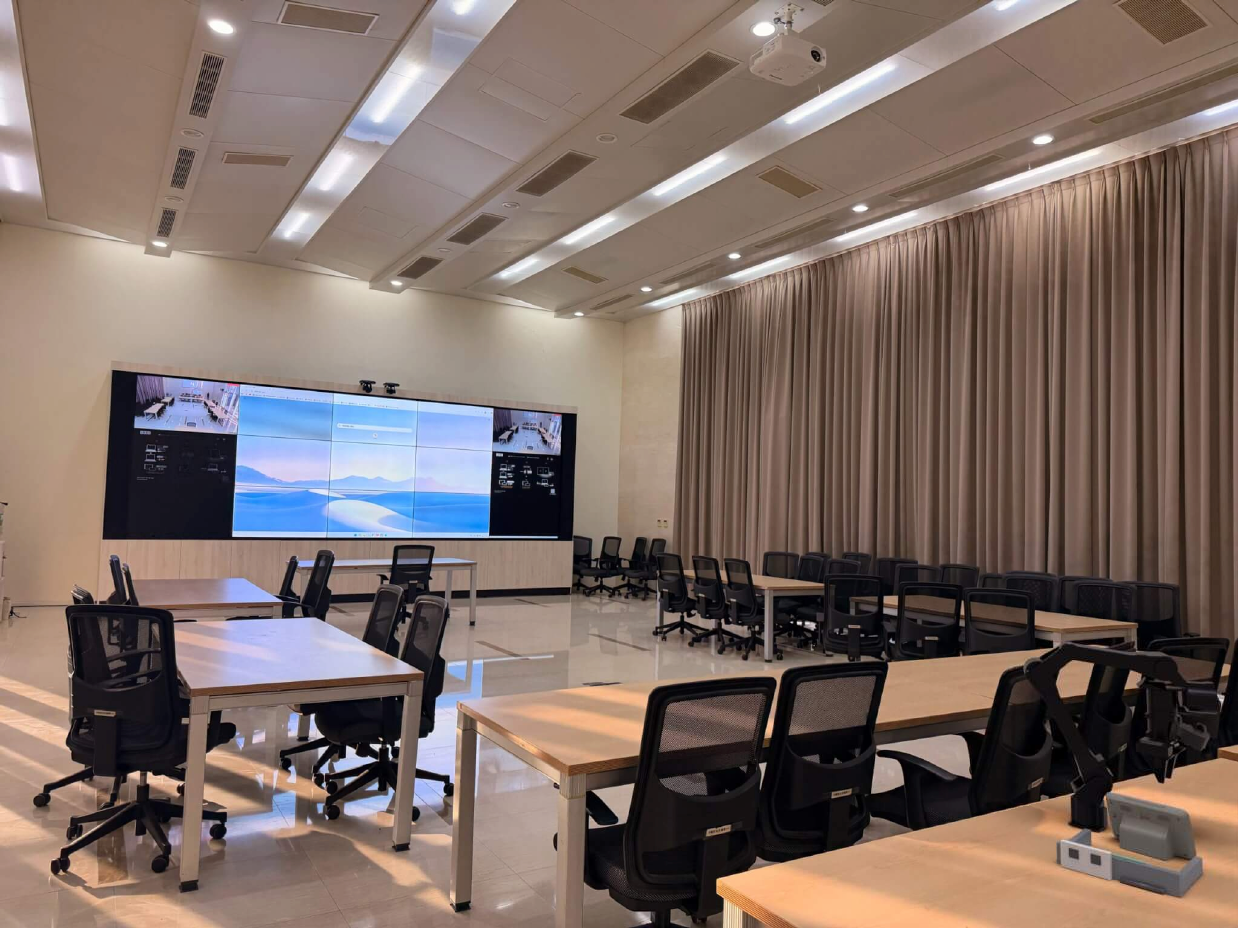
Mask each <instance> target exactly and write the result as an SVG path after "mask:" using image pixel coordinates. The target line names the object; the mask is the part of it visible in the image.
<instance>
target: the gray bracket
mask: <svg viewBox="0 0 1238 928" xmlns="http://www.w3.org/2000/svg"><path fill="white" fill-rule="evenodd" d="M1092 842H1093V841H1092V830H1089V829H1084V828H1083V830H1080V831H1079V832H1078V833H1076V834H1075V835H1073V836H1072V837H1070V838H1068V839H1067V840H1066V839H1064V838H1063V839H1061V840H1059V841H1057V842H1056V864H1060V867H1061V868H1066V869H1069V870H1072V871H1076V872H1079V873H1083V874H1086V875H1090V876H1093V877H1096V878H1101V879H1105V880H1108V881H1112V880H1116V881H1119V882H1120V883H1124V884H1126V885H1129V886H1133V887H1137V888H1141V889H1144V890H1147V891H1151V892H1155V893H1158V894H1162V895H1164V894H1166V895H1170V896H1173V897H1177V898H1181V897H1182V896H1183V895H1184V894H1185V893H1186V892H1187V891H1188V890H1189V889H1190V887H1192V886H1193V884H1194V883H1195V882H1197V880H1199V878H1200V877H1201V876H1202V875H1203V874H1204V868H1203V864H1204V863H1203V856H1198V855H1196V856H1194V857H1193V858H1192V859H1189V862H1187V863H1186V864H1185V865H1184V866H1183V867H1182V868H1181V869H1180V870H1179V871H1175V870H1172V869H1168V868H1165V867H1160V866H1158V865H1157V866H1156V865H1154V864H1150V863H1147V862H1145V861H1142V860H1138V859H1134V858H1131V857H1127V856H1123V855H1119V854H1116V853H1113V852H1112V851H1108V850H1105V849H1102V848H1096V847H1095V846H1094V847H1093V846H1092Z"/></svg>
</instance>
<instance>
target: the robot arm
mask: <svg viewBox="0 0 1238 928" xmlns="http://www.w3.org/2000/svg"><path fill="white" fill-rule="evenodd" d="M1072 661H1077V662H1082V663H1088V664H1093V665H1100V666H1106V667H1112V668H1117V669H1124V670H1128V671H1131V672H1134V673H1138V674H1140V675H1143V677H1142V679H1140V681H1138V682H1136V684H1135V686H1136V687H1138V688H1139V689H1141V690H1146V706H1147V707H1146V709H1147V711H1146V712H1145V713H1144V719H1147V730H1146V731H1145V733H1144V734H1145V736H1144V737H1142V738H1140V739H1139V740H1137V741H1136V742H1135V752H1137V753H1141V754H1142V755H1143V756H1144V759H1145V760H1146V762H1147V764H1148V766H1149V768H1150V769H1151V771H1152V773H1153V775H1154V777H1155V779H1156V781H1157V783H1159V784H1165V783H1166V779H1170V780H1171V779H1172V776H1173V773H1174V768H1175V765H1176V761H1177V757H1178V755H1179V754H1180V753H1181V752H1183V751H1185V750H1186V749H1187V746H1190V747H1191V748H1193V750H1196V751H1199V752H1201V751H1203V750H1204V749H1206V747H1207V744H1208V742H1209V740H1210V737H1211V735H1210V733H1208V729H1207V725H1204V724H1202V723H1200V722H1197V723H1196V724H1195V725H1193V726H1192V724H1186V723H1184V722H1183V717H1182V716H1181V714H1178V705H1179V707H1180V708H1181V707H1182V708H1184V710H1185V711H1186V712H1187V713H1188V712H1189V713H1199V714H1210V715H1217V714H1218V713H1219V710H1220V699H1218V694H1217V690H1216V684H1215V683H1214V682H1213V681H1190V680H1189V681H1187V680H1186V678H1185V677H1183V676H1182V675H1181V673H1180V672H1179V667H1178V663H1177V661H1175V659H1173V657H1171V656H1169V655H1168V654H1166V653H1165V652H1164V653H1163V652H1160V651H1123V650H1117V649H1112V648H1111V649H1110V648H1104V647H1098V646H1094V645H1093V646H1092V645H1087V644H1081V643H1075V642H1072V641H1069V640H1066V641H1062V642H1061V643H1060V644H1059V645H1058V646H1056V647H1055V648H1052V649H1051V650H1049V651H1047V652H1045V653H1043V654H1042V655H1040V656H1038V657H1030V658H1029V659H1027V660H1026V661H1025V662H1024V665H1023V672H1024V675H1025V678H1026V680H1027V681H1028V682H1029V683H1030V684H1031V686H1032V688H1034V690H1035V691H1036V692H1037V694H1039V696H1040V697H1041V698H1042V700H1043V701H1044V702H1045V704H1046V705H1047V708H1048V710H1049V712H1050V713H1051V715H1052V717H1053V719H1054V721H1055V723H1056V725H1057V726H1058V728H1059V730H1060V732H1061V733H1062V735H1063V737H1064V740H1065V741H1066V743H1067V744H1068V747H1069V748H1070V750H1071V752H1072V754H1073V756H1074V760H1075V762H1076V765H1077V768H1078V773H1079V775H1078V776H1077V777H1076V778H1074V779H1073V780H1072V781H1071V782H1070V785H1071V787H1072V790H1073V792H1074V793H1073V794H1071V795H1070V821H1068V825H1069V826H1073V827H1075V828H1080V829H1083V830H1084V829H1089V830H1091V832H1092V831H1093V832H1101V831H1103V830H1105V828H1107V827H1109V824H1108V821H1109V820H1108V807H1107V806H1105V798H1106V794H1107V793H1108V792H1111V793H1112V790H1113V788H1114V783H1113V780H1112V778H1114V775H1113V774H1112V772H1111V770H1110V769H1109V768H1108V766H1107V764H1106V761H1105V758H1104V757H1103V756H1102V754H1101V753H1098V754H1096V755H1095V754H1094V753H1093V752H1092V751H1091V750H1090V749H1089V747H1088V745H1087V743H1086V741H1085V739H1084V738H1083V735H1082V734H1081V732H1080V729H1078V726H1077V725H1076V723H1075V721H1074V719H1073V717H1072V715H1071V713H1070V712H1069V710H1068V708H1067V705H1065V702H1064V701H1063V698H1062V697H1061V694H1060V692H1059V689H1058V686H1057V683H1056V679H1055V676H1054V675H1056V673H1057V672H1060V670H1062V669H1063V668H1064V667H1065V666H1067V665H1068V664H1069V663H1071V662H1072ZM1145 676H1146V677H1145ZM1147 677H1149V678H1152V679H1154V680H1149V678H1147ZM1166 682H1170V683H1171V684H1173V685H1174V686H1171V685H1166ZM1177 692H1178V694H1177ZM1177 695H1178V696H1177ZM1178 703H1179V704H1178ZM1180 742H1181V743H1183V745H1184V746H1183V745H1180V744H1179V743H1180Z"/></svg>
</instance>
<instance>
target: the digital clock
mask: <svg viewBox="0 0 1238 928" xmlns="http://www.w3.org/2000/svg"><path fill="white" fill-rule="evenodd" d="M1105 802H1106V805H1107V806H1106V807H1107V813H1108V816H1109V820H1110V825H1111V831H1112V834H1113V836H1114V837H1115V839H1117V840H1119V848H1120V849H1123V850H1127V851H1130V852H1133V853H1137V854H1139V855H1144V856H1147V857H1151V858H1154V859H1157V860H1160V861H1166V862H1167V861H1168V860H1171V859H1173V858H1174V857H1176V856H1177V857H1180V858H1184V859H1189V860H1191V859H1192V858H1193V857H1194V856H1198V855H1197V849H1196V843H1195V839H1194V832H1193V827H1192V824H1191V818H1190V815H1189V813H1188V811H1186V810H1185V809H1183V808H1180V807H1177V806H1172V805H1169V804H1168V805H1167V804H1165V803H1161V802H1160V803H1159V802H1156V801H1151V800H1147V799H1142V798H1139V797H1135V796H1130V795H1126V794H1121V793H1117V792H1112V791H1111V792H1108V793H1107V794H1106V796H1105Z"/></svg>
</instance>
